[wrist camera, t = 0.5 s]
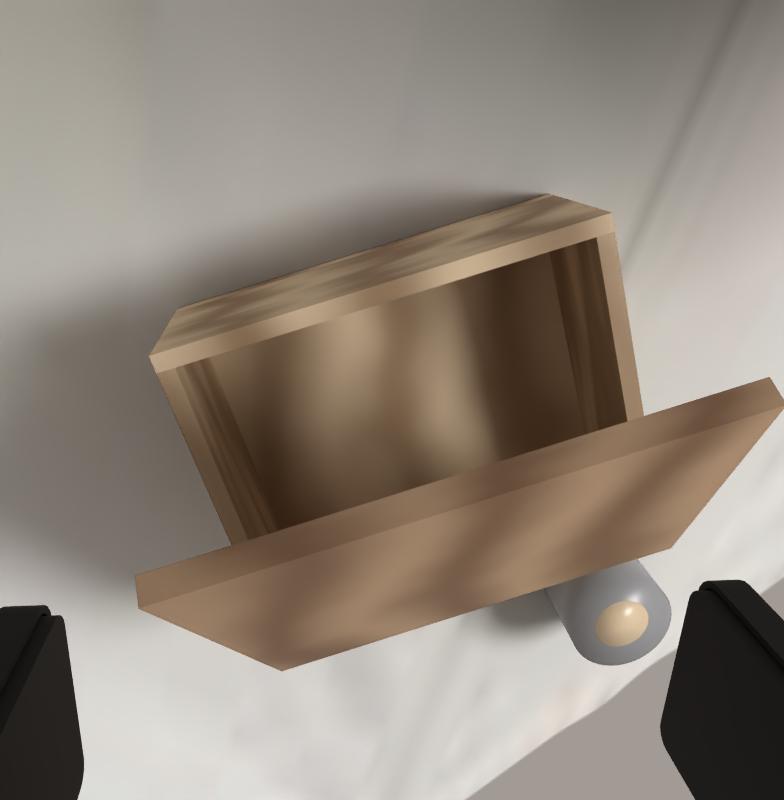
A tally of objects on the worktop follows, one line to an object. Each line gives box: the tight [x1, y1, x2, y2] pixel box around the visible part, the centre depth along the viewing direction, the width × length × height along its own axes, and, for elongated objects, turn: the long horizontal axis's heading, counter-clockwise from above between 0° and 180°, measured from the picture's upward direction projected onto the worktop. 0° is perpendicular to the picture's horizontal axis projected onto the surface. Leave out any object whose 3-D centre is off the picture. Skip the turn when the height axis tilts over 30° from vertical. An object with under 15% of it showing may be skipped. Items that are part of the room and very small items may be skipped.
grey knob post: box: [545, 559, 671, 666], centre depth 44 cm, size 6×6×5 cm
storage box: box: [149, 194, 644, 545], centre depth 37 cm, size 20×16×8 cm
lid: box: [135, 377, 784, 671], centre depth 29 cm, size 20×16×1 cm
